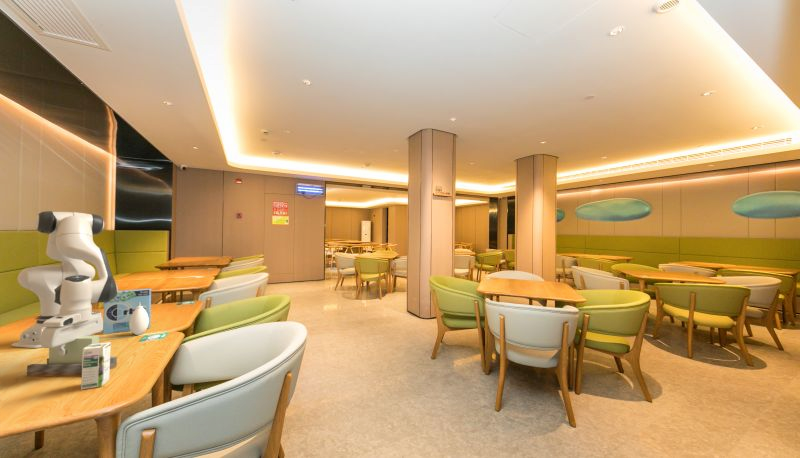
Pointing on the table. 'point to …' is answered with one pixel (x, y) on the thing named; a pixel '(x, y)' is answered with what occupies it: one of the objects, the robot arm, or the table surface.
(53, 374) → the track
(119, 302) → the gum box
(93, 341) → the door panel
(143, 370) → the table surface
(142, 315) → the white air blower bulb
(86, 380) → the syrup box
